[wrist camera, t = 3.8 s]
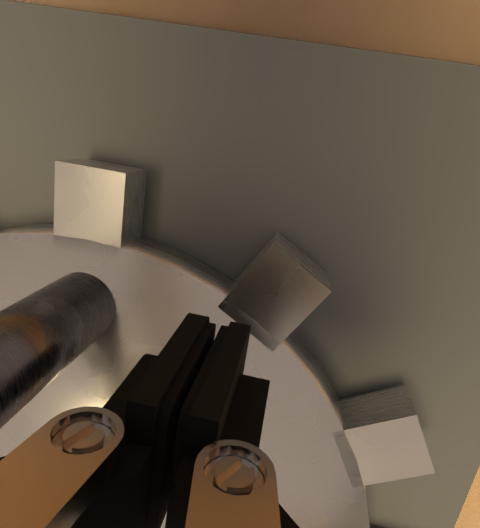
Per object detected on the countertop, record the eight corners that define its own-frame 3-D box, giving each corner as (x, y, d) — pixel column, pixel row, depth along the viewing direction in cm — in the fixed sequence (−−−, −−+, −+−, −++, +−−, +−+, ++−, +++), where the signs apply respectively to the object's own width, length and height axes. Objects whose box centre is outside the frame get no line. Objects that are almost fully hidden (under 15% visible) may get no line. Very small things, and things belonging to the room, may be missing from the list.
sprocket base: (-222, -24, 14) (-368, -69, 11) (602, 91, 11) (708, 74, 8) (-121, 624, 24) (-185, 694, 21) (337, 772, 21) (341, 878, 18)
